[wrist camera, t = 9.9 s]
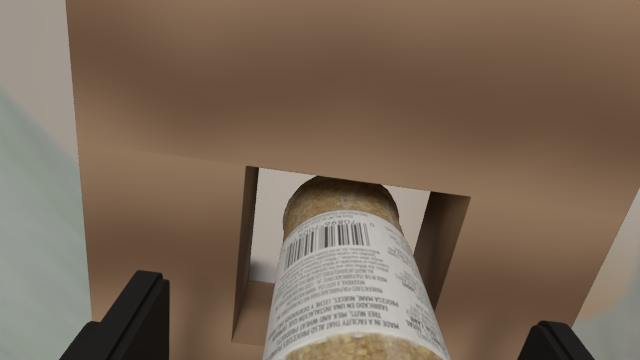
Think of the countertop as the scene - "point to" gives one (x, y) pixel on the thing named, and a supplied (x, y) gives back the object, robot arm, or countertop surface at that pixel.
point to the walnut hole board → (358, 148)
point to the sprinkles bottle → (348, 280)
